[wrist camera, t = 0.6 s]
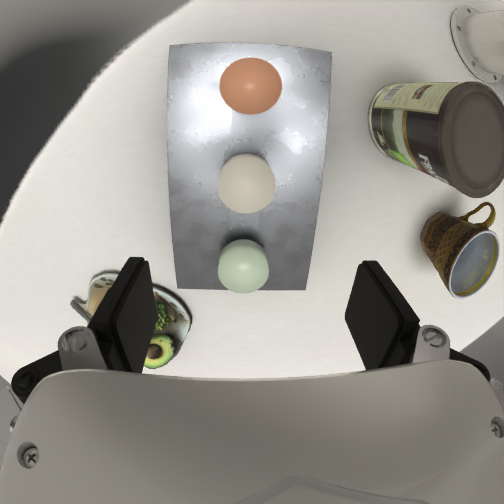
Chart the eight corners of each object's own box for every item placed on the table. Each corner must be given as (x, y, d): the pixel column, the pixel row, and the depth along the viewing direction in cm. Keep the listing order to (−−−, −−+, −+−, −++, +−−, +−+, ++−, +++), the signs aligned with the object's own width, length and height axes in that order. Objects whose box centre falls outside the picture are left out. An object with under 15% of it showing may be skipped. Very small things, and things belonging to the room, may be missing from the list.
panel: (323, 57, 25) (331, 52, 22) (301, 277, 38) (305, 290, 35) (175, 51, 24) (169, 45, 21) (181, 275, 37) (177, 288, 34)
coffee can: (419, 174, 31) (492, 214, 19) (356, 142, 29) (426, 170, 17) (442, 107, 27) (521, 122, 14) (381, 68, 25) (459, 57, 12)
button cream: (271, 150, 28) (277, 158, 24) (268, 196, 31) (273, 214, 26) (221, 148, 28) (217, 156, 23) (220, 195, 30) (217, 212, 26)
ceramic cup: (444, 265, 38) (478, 300, 30) (401, 256, 37) (436, 297, 28) (473, 192, 32) (516, 218, 24) (432, 173, 31) (480, 198, 22)
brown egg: (275, 68, 24) (283, 59, 19) (273, 115, 27) (280, 116, 22) (224, 66, 24) (220, 56, 19) (222, 113, 26) (218, 113, 21)
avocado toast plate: (72, 327, 42) (62, 344, 38) (80, 247, 35) (66, 264, 31) (169, 367, 47) (165, 387, 43) (203, 299, 39) (199, 321, 35)
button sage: (266, 228, 33) (270, 250, 28) (263, 267, 35) (267, 293, 30) (220, 227, 32) (217, 249, 28) (220, 266, 35) (218, 292, 30)
